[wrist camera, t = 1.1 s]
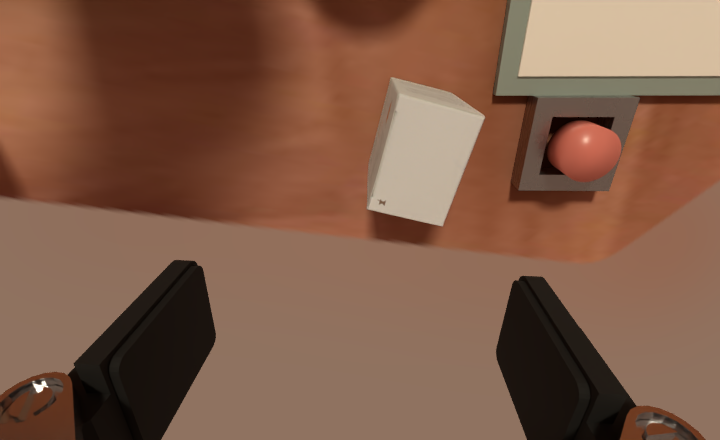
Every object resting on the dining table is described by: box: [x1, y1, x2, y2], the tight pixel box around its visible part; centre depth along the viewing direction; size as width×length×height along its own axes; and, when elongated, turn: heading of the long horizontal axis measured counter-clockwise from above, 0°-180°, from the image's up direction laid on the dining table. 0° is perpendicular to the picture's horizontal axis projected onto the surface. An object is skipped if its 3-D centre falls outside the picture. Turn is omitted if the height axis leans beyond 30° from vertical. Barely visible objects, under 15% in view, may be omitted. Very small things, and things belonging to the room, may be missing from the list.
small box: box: [367, 77, 485, 226], centre depth 28 cm, size 8×6×10 cm
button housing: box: [511, 95, 640, 191], centre depth 31 cm, size 8×8×2 cm
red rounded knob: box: [547, 120, 621, 182], centre depth 30 cm, size 4×4×3 cm
